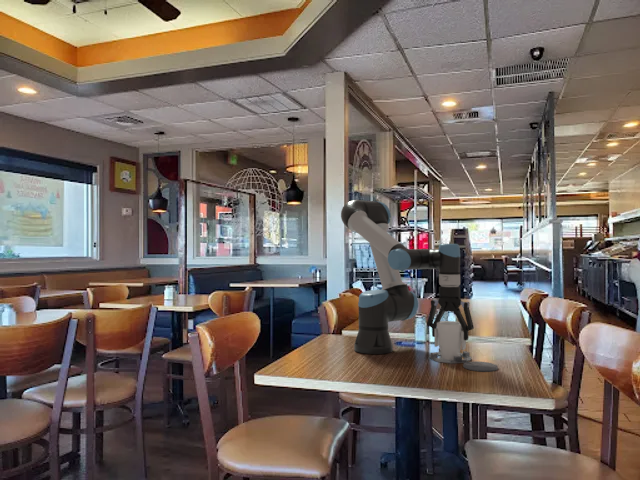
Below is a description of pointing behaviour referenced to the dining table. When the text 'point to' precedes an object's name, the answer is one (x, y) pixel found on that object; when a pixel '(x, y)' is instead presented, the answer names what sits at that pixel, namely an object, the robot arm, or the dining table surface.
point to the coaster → (480, 366)
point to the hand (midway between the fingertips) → (450, 347)
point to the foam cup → (449, 338)
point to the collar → (456, 360)
